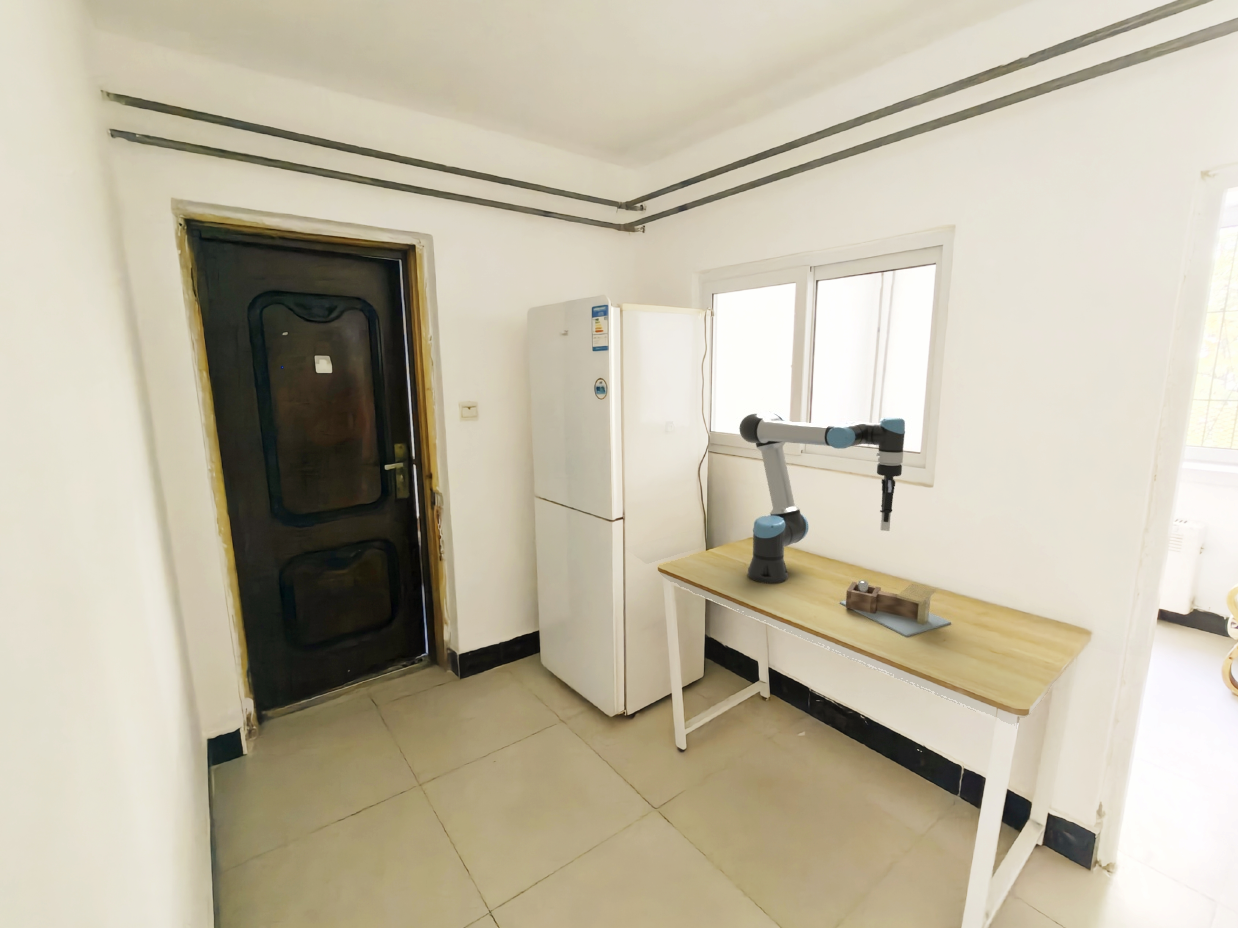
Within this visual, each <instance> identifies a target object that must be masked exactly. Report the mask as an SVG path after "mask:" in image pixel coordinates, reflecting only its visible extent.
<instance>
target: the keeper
mask: <svg viewBox="0 0 1238 928" xmlns="http://www.w3.org/2000/svg"><path fill="white" fill-rule="evenodd" d="M935 593H936V589H934V588H932V587H926V586H924V585H919V584H914V583H910V584H909V585H908V586H907V587H905V588H904V589H903V590H902V591H901V592H899V593H897V594H898V595H897V598H900V599H904V600H907V601H911V602H914V603H918V604H919V607H918V619H917V623H919V624H922V625H925V624H926V623H927V622H928V619H929V612H930V607H931V598H932V596H933V595H934V594H935Z"/></svg>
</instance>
